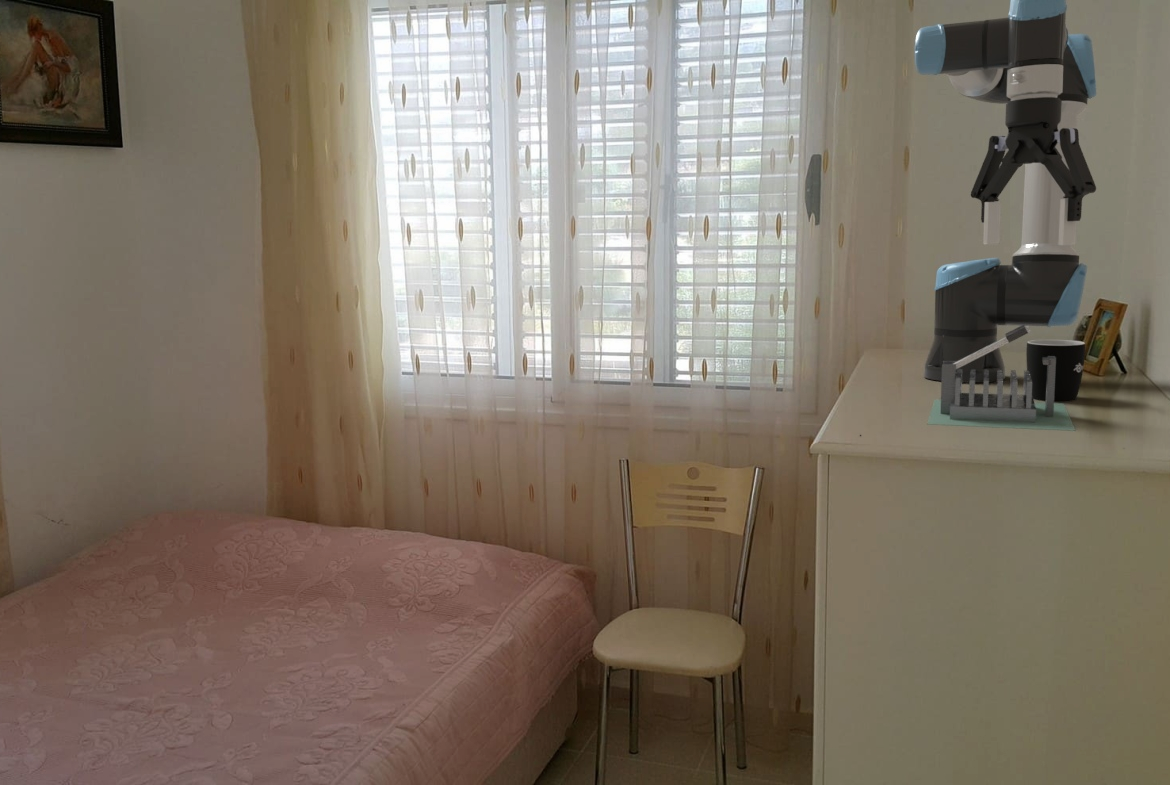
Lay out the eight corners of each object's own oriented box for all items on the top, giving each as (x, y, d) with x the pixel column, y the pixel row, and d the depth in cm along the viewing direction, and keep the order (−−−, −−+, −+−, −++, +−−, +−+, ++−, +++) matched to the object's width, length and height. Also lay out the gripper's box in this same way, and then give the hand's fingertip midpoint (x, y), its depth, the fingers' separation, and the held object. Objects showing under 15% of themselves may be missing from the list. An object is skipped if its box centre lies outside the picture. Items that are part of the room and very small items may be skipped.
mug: (1079, 407, 166) (1082, 345, 164) (1020, 404, 170) (1022, 344, 169) (1087, 397, 176) (1090, 338, 174) (1031, 393, 180) (1034, 337, 179)
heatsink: (942, 404, 168) (944, 350, 167) (1050, 408, 162) (1052, 352, 161) (939, 418, 155) (940, 360, 154) (1055, 423, 150) (1058, 362, 148)
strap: (948, 372, 163) (944, 365, 163) (1031, 330, 158) (1026, 322, 158) (946, 376, 158) (942, 369, 158) (1032, 333, 153) (1027, 325, 153)
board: (934, 402, 174) (934, 399, 173) (1063, 407, 166) (1063, 403, 166) (926, 428, 151) (927, 424, 151) (1075, 434, 144) (1075, 430, 144)
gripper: (949, 107, 158) (946, 244, 162) (1092, 86, 136) (1084, 246, 140) (984, 108, 162) (979, 243, 165) (1128, 88, 140) (1120, 244, 143)
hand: (1027, 244), depth 153 cm, fingers open, 13 cm apart
